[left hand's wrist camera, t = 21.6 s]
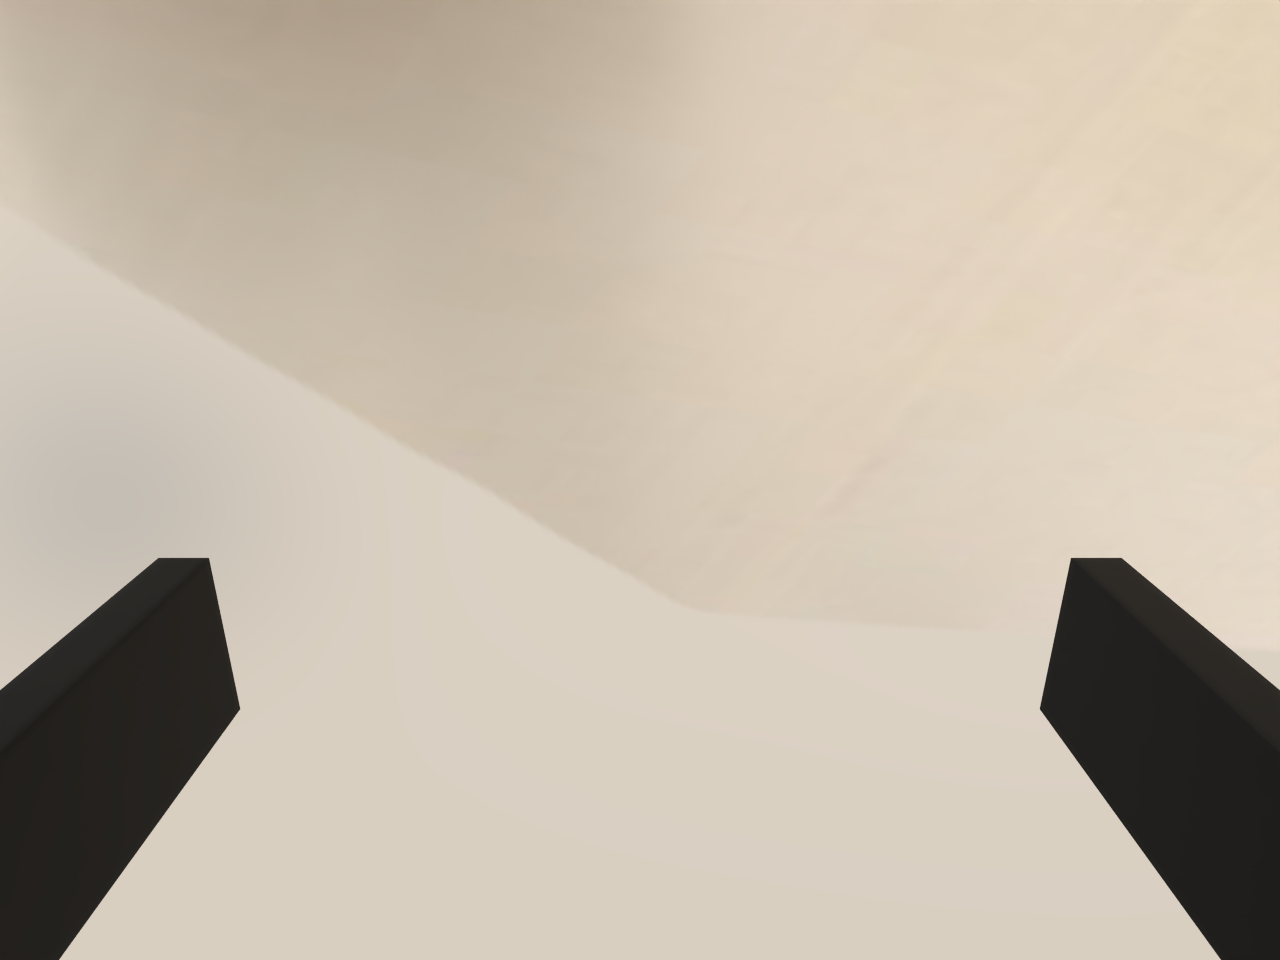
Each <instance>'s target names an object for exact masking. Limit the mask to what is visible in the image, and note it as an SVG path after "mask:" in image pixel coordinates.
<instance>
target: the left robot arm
mask: <svg viewBox="0 0 1280 960" xmlns="http://www.w3.org/2000/svg"><path fill="white" fill-rule="evenodd" d="M239 710H240V706H239V701H238V696H237V691H236V687H235V682H234V677H233V672H232V667H231V662H230V658H229V653H228V648H227V643H226V638H225V634H224V629H223V624H222V619H221V614H220V609H219V605H218V600H217V595H216V590H215V585H214V580H213V576H212V571H211V566H210V561H209V558H158V559H157V560H156V561H154V562H153V563H152V564H151V565H150V566H148V567H147V568H146V569H145V570H144V571H143V572H141V573H140V574H139V575H138V576H136V577H135V578H134V579H133V580H132V581H130V582H129V583H128V584H127V585H126V586H124V587H123V588H122V589H121V590H120V591H118V592H117V593H116V594H115V595H114V596H113V597H111V598H110V599H109V600H108V601H107V602H105V603H104V604H103V605H102V606H101V607H99V608H98V609H97V610H96V611H95V612H93V613H92V614H91V615H90V616H89V617H87V618H86V619H85V620H84V621H83V622H81V623H80V624H79V625H78V626H77V627H75V628H74V629H73V630H72V631H71V632H69V633H68V634H67V635H66V636H65V637H63V638H62V639H61V640H60V641H59V642H58V643H56V644H55V645H54V646H53V647H51V648H50V649H49V650H48V651H47V652H46V653H44V654H43V655H42V656H41V657H39V658H38V659H37V660H36V661H35V662H34V663H32V664H31V665H30V666H29V667H28V668H26V669H25V670H24V671H23V672H22V673H20V674H19V675H18V676H17V677H16V678H14V679H13V680H12V681H11V682H10V683H8V684H7V685H6V686H5V687H4V688H2V689H1V690H0V960H59V959H60V958H61V956H62V955H63V953H64V952H65V951H66V949H67V948H68V946H69V945H70V944H71V942H72V941H73V940H74V938H75V937H76V935H77V934H78V933H79V931H80V930H81V928H82V927H83V926H84V924H85V923H86V922H87V920H88V919H89V917H90V916H91V915H92V913H93V912H94V910H95V909H96V908H97V906H98V905H99V904H100V902H101V901H102V899H103V898H104V897H105V895H106V894H107V892H108V891H109V890H110V888H111V887H112V886H113V884H114V883H115V881H116V880H117V879H118V877H119V876H120V875H121V873H122V872H123V870H124V869H125V868H126V866H127V865H128V863H129V862H130V861H131V859H132V858H133V857H134V855H135V854H136V852H137V851H138V850H139V848H140V847H141V845H142V844H143V843H144V841H145V840H146V839H147V837H148V836H149V834H150V833H151V832H152V830H153V829H154V827H155V826H156V825H157V823H158V822H159V820H160V819H161V818H162V816H163V815H164V814H165V812H166V811H167V809H168V808H169V807H170V805H171V804H172V803H173V801H174V800H175V798H176V797H177V796H178V794H179V793H180V791H181V790H182V789H183V787H184V786H185V785H186V783H187V782H188V780H189V779H190V778H191V776H192V775H193V774H194V772H195V771H196V769H197V768H198V767H199V765H200V764H201V762H202V761H203V760H204V758H205V757H206V756H207V754H208V753H209V751H210V750H211V749H212V747H213V746H214V744H215V743H216V742H217V740H218V739H219V738H220V736H221V735H222V733H223V732H224V731H225V729H226V728H227V727H228V725H229V724H230V722H231V721H232V720H233V718H234V717H235V715H236V714H237V713H238V711H239ZM1040 710H1041V711H1042V713H1043V714H1044V715H1045V717H1046V718H1047V720H1048V721H1049V722H1050V724H1051V725H1052V727H1053V728H1054V729H1055V731H1056V732H1057V733H1058V735H1059V736H1060V738H1061V739H1062V740H1063V742H1064V743H1065V744H1066V746H1067V747H1068V749H1069V750H1070V751H1071V753H1072V754H1073V756H1074V757H1075V758H1076V760H1077V761H1078V762H1079V764H1080V765H1081V767H1082V768H1083V769H1084V771H1085V772H1086V774H1087V775H1088V776H1089V778H1090V779H1091V780H1092V782H1093V783H1094V785H1095V786H1096V787H1097V789H1098V790H1099V792H1100V793H1101V794H1102V796H1103V797H1104V798H1105V800H1106V801H1107V803H1108V804H1109V805H1110V807H1111V808H1112V810H1113V811H1114V812H1115V814H1116V815H1117V816H1118V818H1119V819H1120V821H1121V822H1122V823H1123V825H1124V826H1125V827H1126V829H1127V830H1128V832H1129V833H1130V834H1131V836H1132V837H1133V839H1134V840H1135V841H1136V843H1137V844H1138V845H1139V847H1140V848H1141V850H1142V851H1143V852H1144V854H1145V855H1146V857H1147V858H1148V859H1149V861H1150V862H1151V863H1152V865H1153V866H1154V868H1155V869H1156V870H1157V872H1158V873H1159V875H1160V876H1161V877H1162V879H1163V880H1164V881H1165V883H1166V884H1167V886H1168V887H1169V888H1170V890H1171V891H1172V893H1173V894H1174V895H1175V897H1176V898H1177V899H1178V901H1179V902H1180V904H1181V905H1182V906H1183V908H1184V909H1185V911H1186V912H1187V913H1188V915H1189V916H1190V917H1191V919H1192V920H1193V922H1194V923H1195V924H1196V926H1197V927H1198V928H1199V930H1200V931H1201V933H1202V934H1203V935H1204V937H1205V938H1206V940H1207V941H1208V942H1209V944H1210V945H1211V946H1212V948H1213V949H1214V951H1215V952H1216V953H1217V955H1218V956H1219V958H1220V959H1221V960H1280V690H1279V689H1277V688H1276V687H1275V686H1274V685H1273V684H1272V683H1270V682H1269V681H1268V680H1267V679H1266V678H1264V677H1263V676H1262V675H1261V674H1260V673H1258V672H1257V671H1256V670H1255V669H1254V668H1252V667H1251V666H1250V665H1249V664H1248V663H1246V662H1245V661H1244V660H1243V659H1242V658H1241V657H1239V656H1238V655H1237V654H1236V653H1235V652H1233V651H1232V650H1231V649H1230V648H1229V647H1227V646H1226V645H1225V644H1224V643H1223V642H1221V641H1220V640H1219V639H1218V638H1217V637H1215V636H1214V635H1213V634H1212V633H1211V632H1209V631H1208V630H1207V629H1206V628H1205V627H1203V626H1202V625H1201V624H1200V623H1199V622H1197V621H1196V620H1195V619H1194V618H1193V617H1191V616H1190V615H1189V614H1188V613H1187V612H1185V611H1184V610H1183V609H1182V608H1181V607H1179V606H1178V605H1177V604H1176V603H1175V602H1173V601H1172V600H1171V599H1170V598H1169V597H1167V596H1166V595H1165V594H1164V593H1163V592H1162V591H1160V590H1159V589H1158V588H1157V587H1156V586H1154V585H1153V584H1152V583H1151V582H1150V581H1148V580H1147V579H1146V578H1145V577H1144V576H1142V575H1141V574H1140V573H1139V572H1138V571H1136V570H1135V569H1134V568H1133V567H1132V566H1130V565H1129V564H1128V563H1127V562H1126V561H1124V560H1123V559H1122V558H1071V561H1070V566H1069V571H1068V576H1067V580H1066V585H1065V590H1064V595H1063V600H1062V605H1061V609H1060V614H1059V619H1058V624H1057V629H1056V633H1055V638H1054V643H1053V648H1052V653H1051V658H1050V662H1049V667H1048V672H1047V677H1046V682H1045V687H1044V691H1043V696H1042V701H1041V706H1040Z"/></svg>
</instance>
